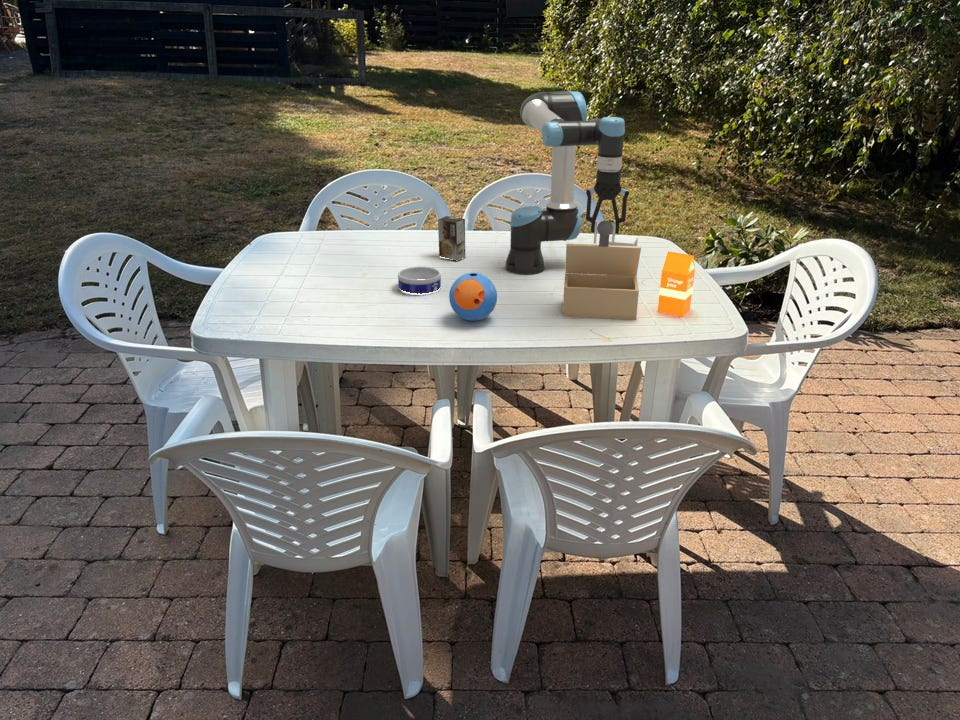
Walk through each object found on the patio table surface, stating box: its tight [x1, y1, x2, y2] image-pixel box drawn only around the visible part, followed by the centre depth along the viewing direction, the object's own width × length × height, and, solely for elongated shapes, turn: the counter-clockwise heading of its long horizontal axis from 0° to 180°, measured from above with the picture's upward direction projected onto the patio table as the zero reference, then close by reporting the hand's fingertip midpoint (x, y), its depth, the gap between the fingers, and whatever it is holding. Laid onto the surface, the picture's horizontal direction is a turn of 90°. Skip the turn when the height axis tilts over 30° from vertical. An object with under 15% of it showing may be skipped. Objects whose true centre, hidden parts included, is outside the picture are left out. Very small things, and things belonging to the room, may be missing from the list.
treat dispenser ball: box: [448, 272, 498, 322], centre depth 250 cm, size 16×15×15 cm
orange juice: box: [657, 250, 696, 317], centre depth 256 cm, size 8×9×20 cm
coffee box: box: [437, 215, 466, 262], centre depth 307 cm, size 9×6×16 cm
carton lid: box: [564, 219, 642, 277], centre depth 253 cm, size 24×24×5 cm
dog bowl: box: [397, 266, 442, 294], centre depth 278 cm, size 15×15×6 cm
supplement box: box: [608, 234, 639, 277], centre depth 281 cm, size 10×9×17 cm
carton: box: [562, 273, 640, 321], centre depth 258 cm, size 24×14×10 cm, turn 83°
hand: (603, 242), depth 249 cm, fingers closed on carton lid, 5 cm apart
